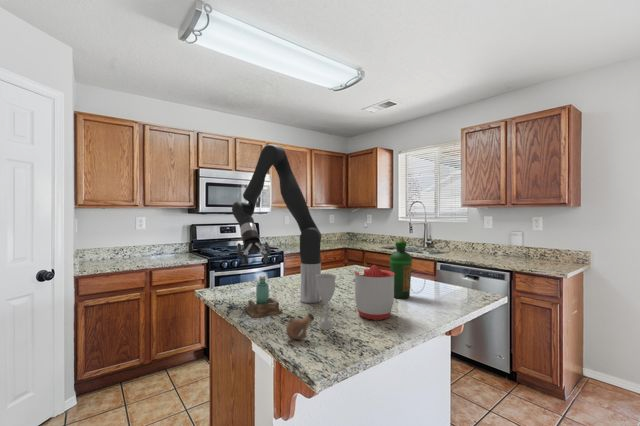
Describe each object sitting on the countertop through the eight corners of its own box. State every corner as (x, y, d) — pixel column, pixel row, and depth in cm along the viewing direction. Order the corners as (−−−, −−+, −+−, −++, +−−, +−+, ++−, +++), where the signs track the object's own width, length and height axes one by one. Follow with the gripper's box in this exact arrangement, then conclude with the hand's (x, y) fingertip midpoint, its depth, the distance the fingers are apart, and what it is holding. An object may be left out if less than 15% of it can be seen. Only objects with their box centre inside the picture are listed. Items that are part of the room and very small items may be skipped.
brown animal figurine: (312, 335, 103) (313, 311, 103) (315, 340, 99) (315, 315, 99) (285, 338, 101) (285, 313, 101) (287, 343, 97) (287, 317, 97)
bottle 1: (268, 306, 131) (268, 274, 131) (269, 309, 126) (269, 277, 126) (256, 307, 130) (255, 275, 130) (256, 310, 125) (256, 277, 125)
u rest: (271, 305, 136) (271, 296, 136) (282, 313, 126) (282, 303, 126) (244, 309, 130) (244, 299, 130) (252, 317, 120) (252, 307, 120)
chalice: (338, 324, 113) (338, 274, 113) (333, 331, 107) (333, 278, 107) (319, 322, 115) (319, 273, 115) (312, 328, 109) (313, 276, 109)
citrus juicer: (366, 306, 136) (366, 259, 136) (402, 315, 123) (402, 264, 123) (342, 314, 125) (342, 263, 125) (379, 325, 112) (379, 269, 112)
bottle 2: (414, 300, 146) (415, 239, 146) (391, 299, 146) (392, 239, 146) (408, 294, 157) (409, 237, 157) (387, 293, 157) (387, 237, 157)
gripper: (235, 229, 139) (242, 258, 129) (266, 228, 146) (275, 256, 136) (232, 240, 144) (238, 269, 134) (262, 239, 151) (270, 267, 141)
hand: (257, 263), depth 135 cm, fingers open, 8 cm apart
